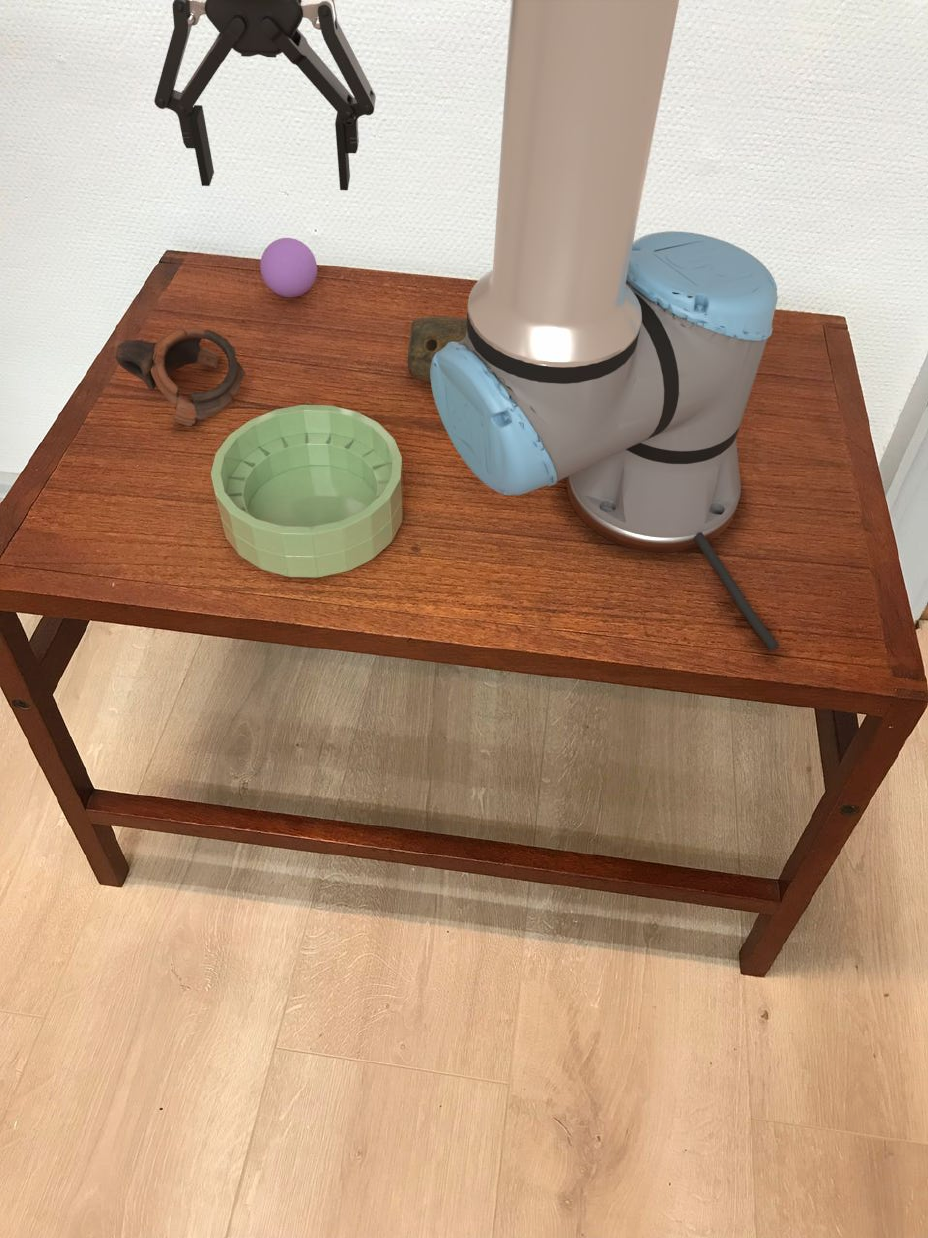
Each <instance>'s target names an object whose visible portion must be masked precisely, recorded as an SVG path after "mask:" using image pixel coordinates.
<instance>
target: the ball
mask: <svg viewBox="0 0 928 1238" xmlns="http://www.w3.org/2000/svg"><path fill="white" fill-rule="evenodd" d="M259 264H260V265H259V271H260V274H261V278H262V280H263V282H264V284H265V285H266V286H267V288H268V289H269V290H270V291H272V292H273V293H274V294H276V295H278V296H280V297H283V298H297V297H300V296H302V295H304V294H306V293H307V292H309V290H310V289H311V288H312V287H313V286H314V284H315V281H316V279H317V275H318V265H317V259H316V257H315V255H314V253H313V251H312V250H311V249H310V247H309V246H308V245H306V243H304V242H302V241H301V240H299V239H296V238H294V237H293V238H292V237H282V238H277V239H275V240H274V241H272V242H270V243H269V244H268V245H267V247H266V248H264V251H263V252H262V255H261V258H260V262H259Z"/></svg>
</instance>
